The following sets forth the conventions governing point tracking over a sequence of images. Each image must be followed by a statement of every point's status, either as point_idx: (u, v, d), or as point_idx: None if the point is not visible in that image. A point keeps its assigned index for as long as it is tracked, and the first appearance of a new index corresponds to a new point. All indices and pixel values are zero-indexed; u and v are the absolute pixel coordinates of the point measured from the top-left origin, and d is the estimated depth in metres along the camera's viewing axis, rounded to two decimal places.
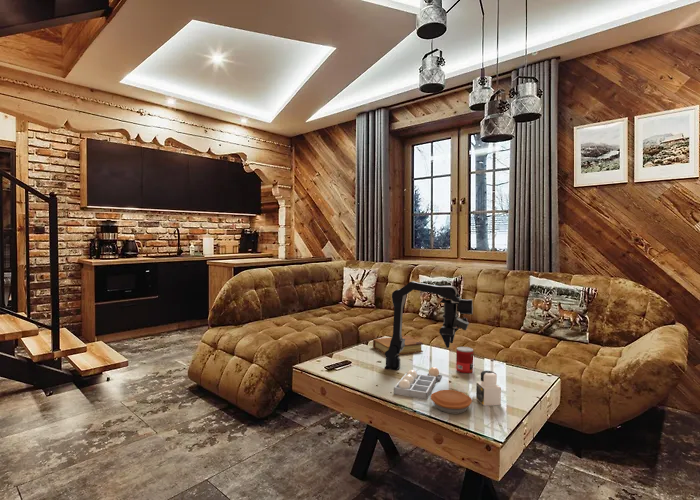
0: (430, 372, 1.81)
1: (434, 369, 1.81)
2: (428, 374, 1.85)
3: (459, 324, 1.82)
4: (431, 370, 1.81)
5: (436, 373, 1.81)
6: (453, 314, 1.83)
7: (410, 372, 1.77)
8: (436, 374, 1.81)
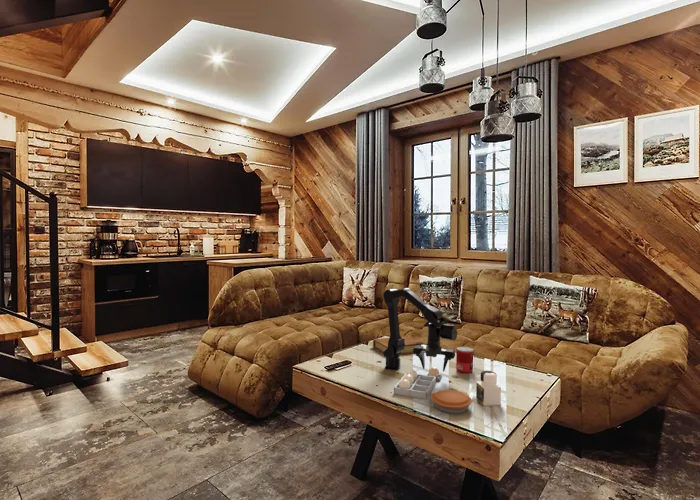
0: (430, 372, 1.81)
1: (434, 369, 1.81)
2: (428, 374, 1.85)
3: None
4: (431, 370, 1.81)
5: (436, 373, 1.81)
6: (428, 338, 1.81)
7: (410, 372, 1.77)
8: (436, 374, 1.81)
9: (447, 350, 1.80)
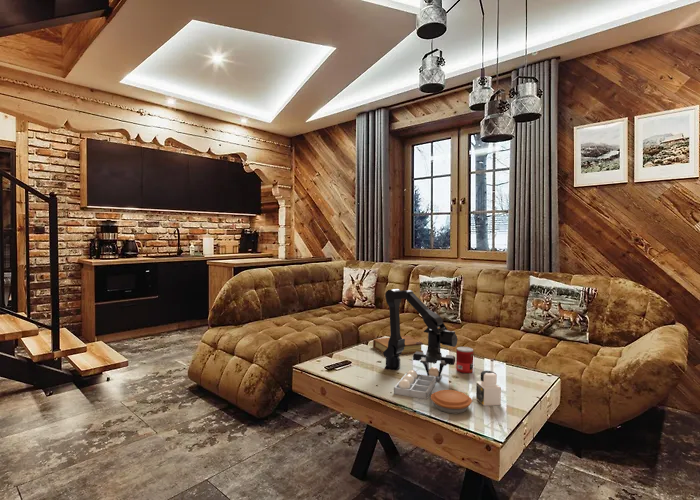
0: (430, 372, 1.81)
1: (434, 369, 1.81)
2: None
3: None
4: (431, 370, 1.81)
5: (436, 373, 1.81)
6: (428, 344, 1.81)
7: (410, 372, 1.77)
8: (436, 374, 1.81)
9: (447, 356, 1.80)
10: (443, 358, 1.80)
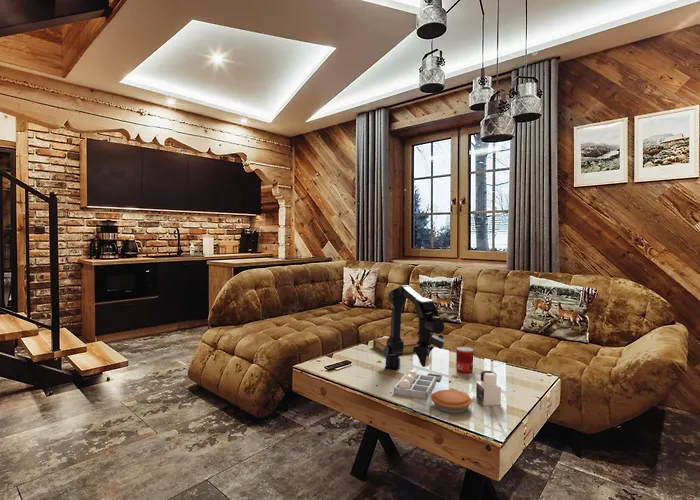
0: (428, 361, 1.68)
1: None
2: (428, 374, 1.85)
3: (434, 342, 1.66)
4: (428, 358, 1.68)
5: None
6: (428, 331, 1.67)
7: (410, 372, 1.77)
8: None
9: None
10: None
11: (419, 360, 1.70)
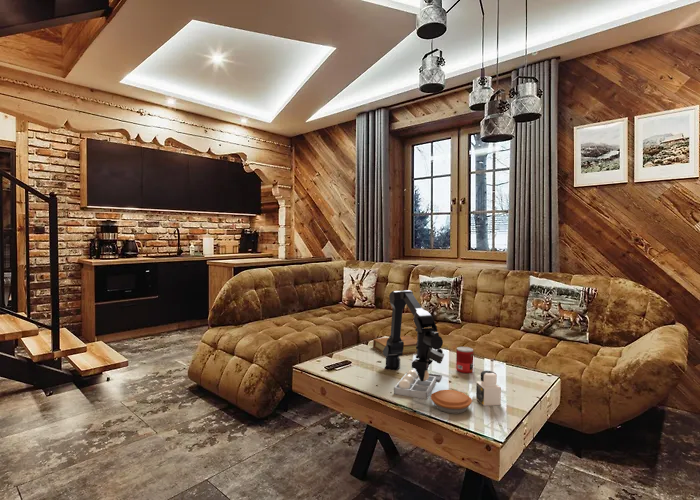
0: (427, 375, 1.68)
1: (426, 371, 1.69)
2: None
3: (433, 357, 1.65)
4: (427, 373, 1.68)
5: None
6: (427, 345, 1.66)
7: (410, 372, 1.77)
8: None
9: None
10: None
11: None
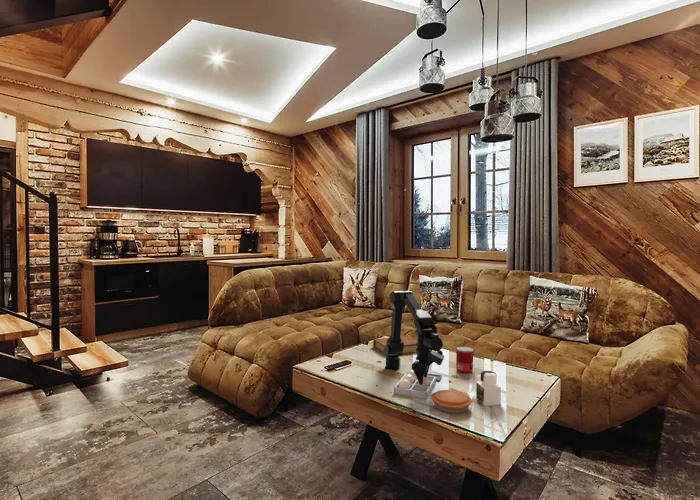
0: (427, 383, 1.68)
1: (426, 378, 1.69)
2: (428, 374, 1.85)
3: (433, 358, 1.65)
4: (427, 380, 1.68)
5: None
6: (427, 347, 1.66)
7: (410, 372, 1.77)
8: None
9: None
10: None
11: None
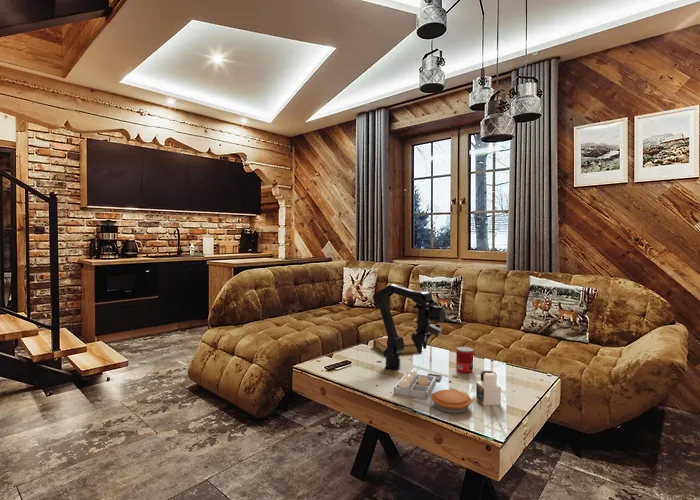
0: (427, 383, 1.68)
1: (426, 378, 1.69)
2: (428, 374, 1.85)
3: (431, 330, 1.81)
4: (427, 380, 1.68)
5: None
6: (426, 320, 1.83)
7: (410, 372, 1.77)
8: None
9: None
10: None
11: (418, 381, 1.69)
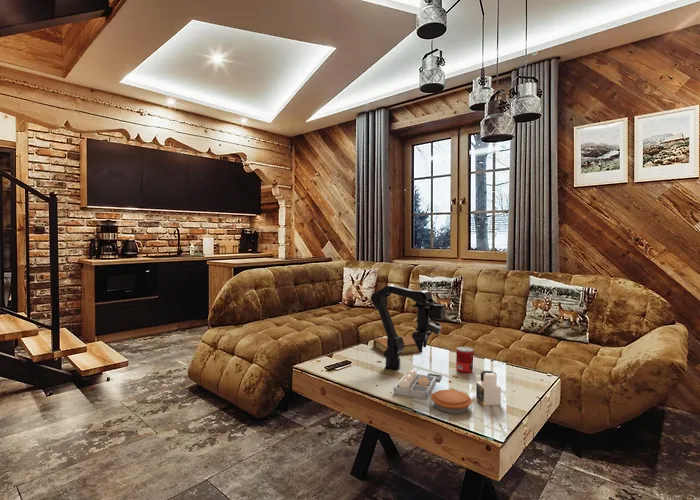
0: (427, 383, 1.68)
1: (426, 378, 1.69)
2: (428, 374, 1.85)
3: (432, 328, 1.83)
4: (427, 380, 1.68)
5: None
6: (426, 319, 1.84)
7: (410, 372, 1.77)
8: None
9: None
10: None
11: None
